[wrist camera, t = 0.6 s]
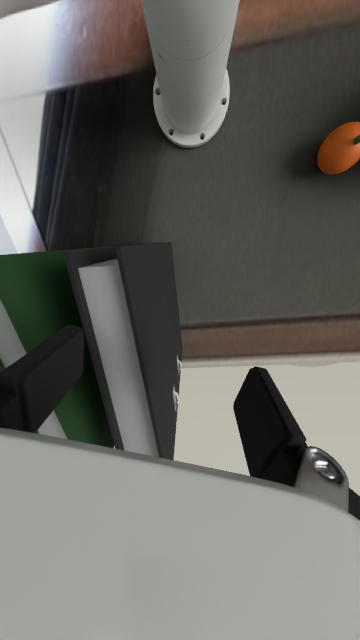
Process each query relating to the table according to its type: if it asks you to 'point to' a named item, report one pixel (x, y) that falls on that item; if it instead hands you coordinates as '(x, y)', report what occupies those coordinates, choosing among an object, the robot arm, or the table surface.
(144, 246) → the green and black books
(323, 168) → the orange
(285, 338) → the table surface
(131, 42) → the table surface
